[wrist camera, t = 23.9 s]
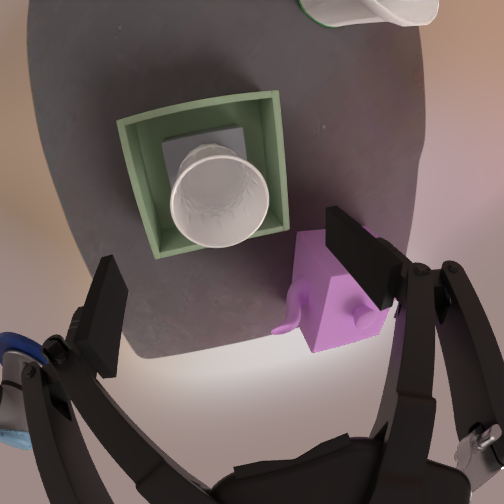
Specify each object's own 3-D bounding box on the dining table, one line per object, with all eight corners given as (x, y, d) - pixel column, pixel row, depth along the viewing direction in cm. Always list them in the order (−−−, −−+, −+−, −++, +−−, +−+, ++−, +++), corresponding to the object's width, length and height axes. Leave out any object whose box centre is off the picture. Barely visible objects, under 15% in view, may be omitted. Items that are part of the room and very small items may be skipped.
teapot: (250, 236, 41) (279, 298, 29) (386, 223, 45) (437, 266, 34) (250, 311, 49) (272, 375, 37) (368, 289, 53) (405, 336, 42)
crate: (158, 233, 37) (155, 259, 31) (129, 116, 28) (116, 120, 22) (273, 208, 39) (289, 229, 34) (261, 91, 30) (278, 90, 25)
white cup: (251, 192, 32) (277, 231, 24) (187, 213, 32) (189, 260, 23) (234, 129, 28) (257, 142, 19) (164, 151, 27) (155, 175, 19)
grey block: (178, 204, 35) (177, 216, 32) (163, 138, 30) (160, 142, 27) (245, 190, 36) (252, 201, 33) (236, 123, 31) (243, 126, 28)
